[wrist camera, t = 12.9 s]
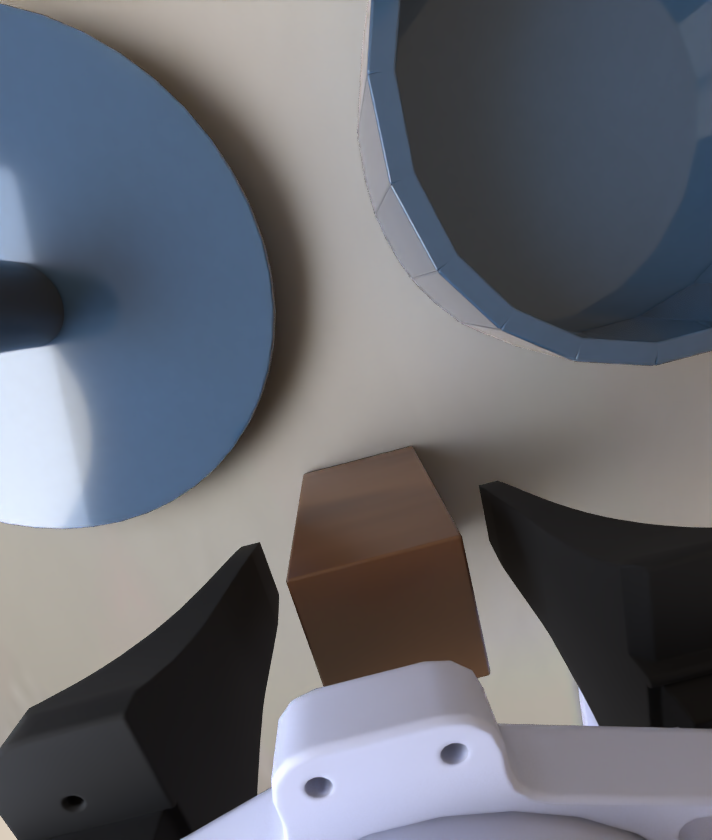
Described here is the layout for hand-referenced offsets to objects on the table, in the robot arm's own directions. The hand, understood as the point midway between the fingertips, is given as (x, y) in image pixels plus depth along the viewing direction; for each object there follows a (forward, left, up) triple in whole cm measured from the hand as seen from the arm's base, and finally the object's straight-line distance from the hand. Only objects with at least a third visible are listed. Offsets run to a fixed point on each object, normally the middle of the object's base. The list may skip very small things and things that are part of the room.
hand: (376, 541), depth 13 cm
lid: (+9, +8, -2) cm, 13 cm away
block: (0, 0, -2) cm, 2 cm away
